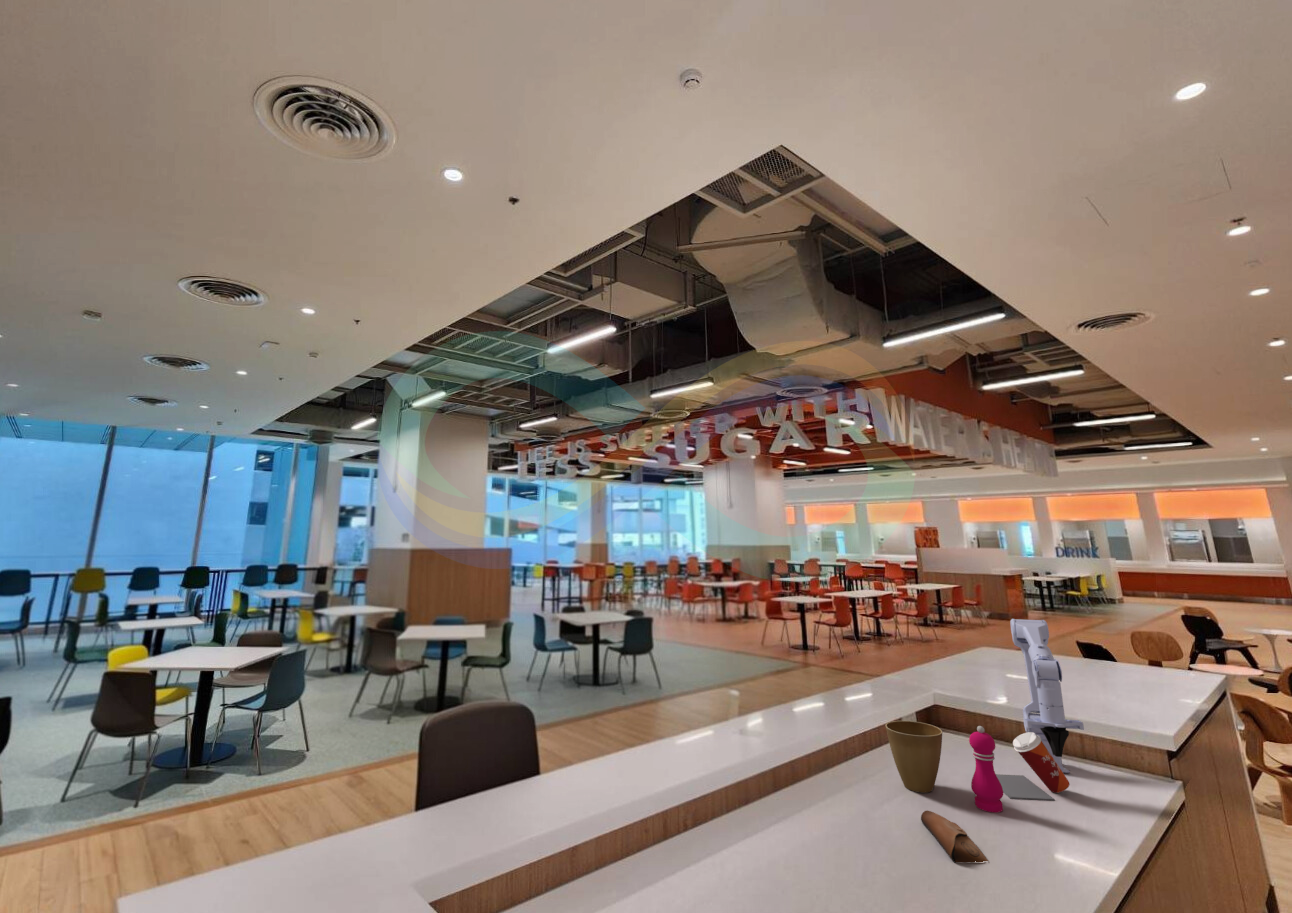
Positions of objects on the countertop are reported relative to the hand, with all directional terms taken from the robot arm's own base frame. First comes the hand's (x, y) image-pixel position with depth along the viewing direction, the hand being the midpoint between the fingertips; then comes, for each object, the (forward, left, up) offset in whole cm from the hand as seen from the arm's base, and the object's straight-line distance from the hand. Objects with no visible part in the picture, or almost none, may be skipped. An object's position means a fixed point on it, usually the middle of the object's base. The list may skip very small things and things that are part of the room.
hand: (1057, 755), depth 156 cm
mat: (-2, -10, -9) cm, 14 cm away
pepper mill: (+12, -24, -10) cm, 29 cm away
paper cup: (0, 0, -8) cm, 8 cm away
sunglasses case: (+32, -40, -10) cm, 52 cm away
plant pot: (+1, -38, -10) cm, 39 cm away
